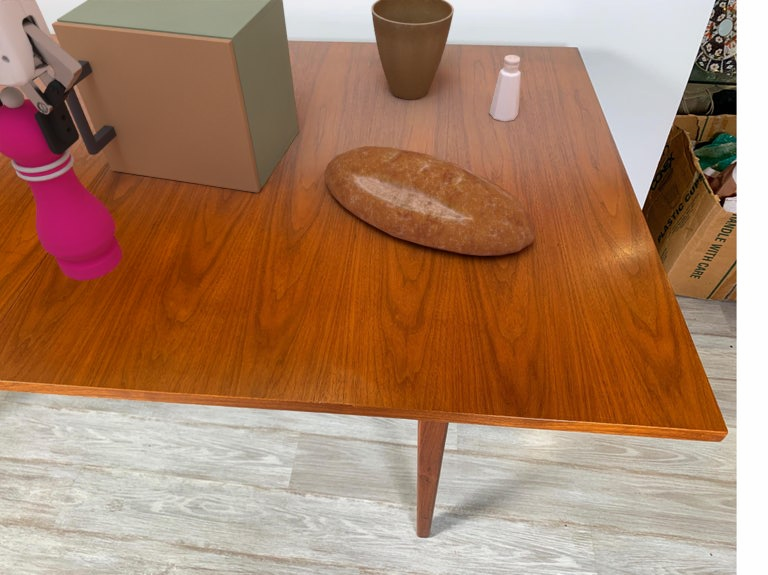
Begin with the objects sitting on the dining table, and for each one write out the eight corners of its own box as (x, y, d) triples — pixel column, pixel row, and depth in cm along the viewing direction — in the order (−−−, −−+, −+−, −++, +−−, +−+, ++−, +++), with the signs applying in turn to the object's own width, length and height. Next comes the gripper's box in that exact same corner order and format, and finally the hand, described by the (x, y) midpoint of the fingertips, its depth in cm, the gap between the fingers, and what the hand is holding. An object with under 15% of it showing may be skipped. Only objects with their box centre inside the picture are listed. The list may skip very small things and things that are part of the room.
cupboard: (261, 189, 94) (232, 37, 76) (115, 167, 98) (56, 19, 81) (299, 131, 106) (281, -11, 88) (167, 114, 110) (126, -25, 93)
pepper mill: (114, 284, 61) (31, 109, 46) (45, 284, 61) (-59, 109, 46) (135, 239, 66) (66, 68, 51) (72, 238, 66) (-15, 68, 51)
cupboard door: (243, 215, 89) (208, 62, 71) (91, 191, 93) (23, 41, 76) (260, 189, 93) (231, 39, 76) (114, 167, 98) (55, 21, 80)
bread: (503, 289, 78) (513, 239, 71) (296, 202, 91) (289, 154, 85) (552, 218, 88) (564, 169, 82) (359, 150, 101) (357, 103, 95)
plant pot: (441, 113, 110) (447, 27, 98) (364, 104, 112) (362, 20, 101) (452, 77, 120) (459, -5, 109) (382, 70, 122) (381, -11, 111)
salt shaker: (517, 108, 111) (527, 51, 103) (518, 122, 107) (529, 65, 99) (488, 106, 112) (496, 50, 104) (489, 121, 108) (497, 63, 100)
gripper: (-234, -83, 39) (-79, 152, 51) (-10, -65, 36) (95, 178, 49) (-139, -109, 44) (-19, 110, 57) (64, -96, 41) (141, 132, 54)
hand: (33, 140), depth 52 cm, fingers closed on pepper mill, 6 cm apart
